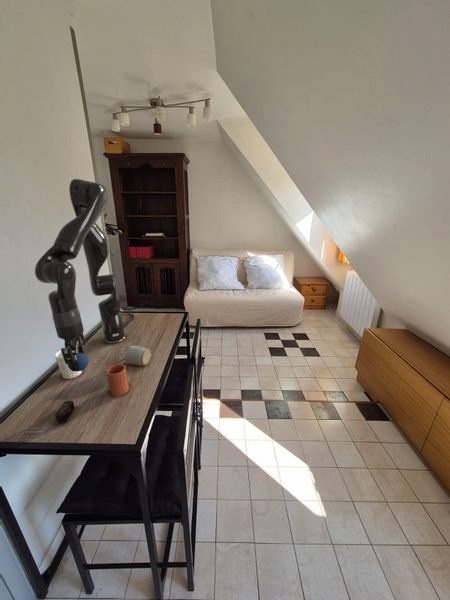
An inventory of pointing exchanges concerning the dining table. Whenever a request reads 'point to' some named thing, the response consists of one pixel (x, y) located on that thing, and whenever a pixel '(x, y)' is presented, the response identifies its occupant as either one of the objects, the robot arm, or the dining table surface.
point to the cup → (117, 379)
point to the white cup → (65, 367)
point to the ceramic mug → (137, 355)
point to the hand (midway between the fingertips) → (78, 364)
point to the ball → (81, 361)
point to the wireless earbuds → (65, 412)
